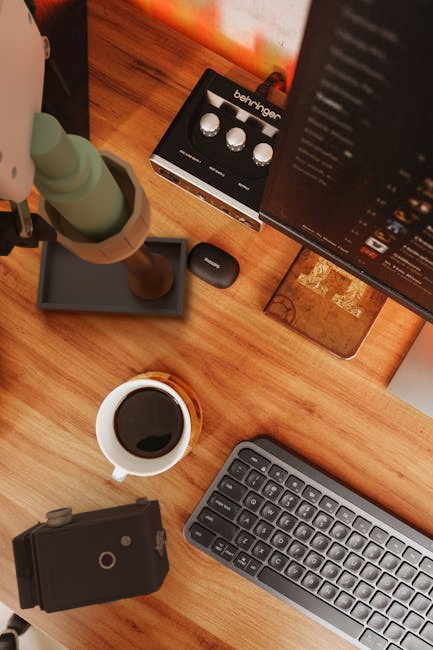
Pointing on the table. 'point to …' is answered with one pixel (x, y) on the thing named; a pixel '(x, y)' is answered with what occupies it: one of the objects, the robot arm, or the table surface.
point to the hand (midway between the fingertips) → (41, 166)
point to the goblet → (120, 236)
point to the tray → (107, 282)
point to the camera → (91, 557)
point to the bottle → (76, 180)
